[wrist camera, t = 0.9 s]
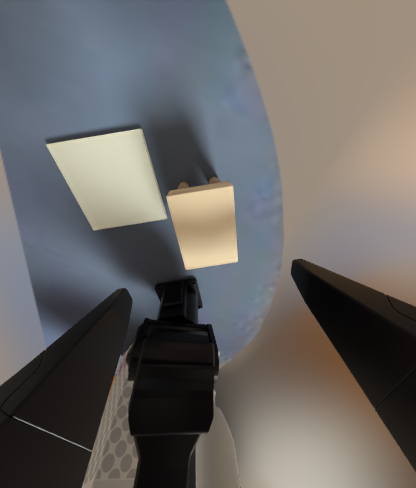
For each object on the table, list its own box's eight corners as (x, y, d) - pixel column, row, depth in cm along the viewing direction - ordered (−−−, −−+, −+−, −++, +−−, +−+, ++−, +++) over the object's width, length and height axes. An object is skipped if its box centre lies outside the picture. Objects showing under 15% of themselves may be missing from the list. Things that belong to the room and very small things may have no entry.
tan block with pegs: (225, 230, 22) (237, 261, 16) (188, 236, 22) (185, 269, 16) (220, 173, 18) (233, 185, 12) (175, 180, 18) (166, 196, 12)
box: (138, 335, 32) (19, 731, 10) (177, 346, 35) (148, 674, 13) (122, 356, 35) (6, 690, 13) (159, 364, 38) (111, 651, 16)
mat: (167, 217, 20) (166, 218, 20) (95, 228, 20) (93, 230, 20) (142, 129, 16) (140, 128, 15) (50, 144, 16) (45, 144, 15)
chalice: (187, 358, 37) (182, 508, 22) (202, 343, 35) (209, 501, 19) (214, 364, 40) (226, 504, 24) (230, 351, 37) (256, 497, 21)
